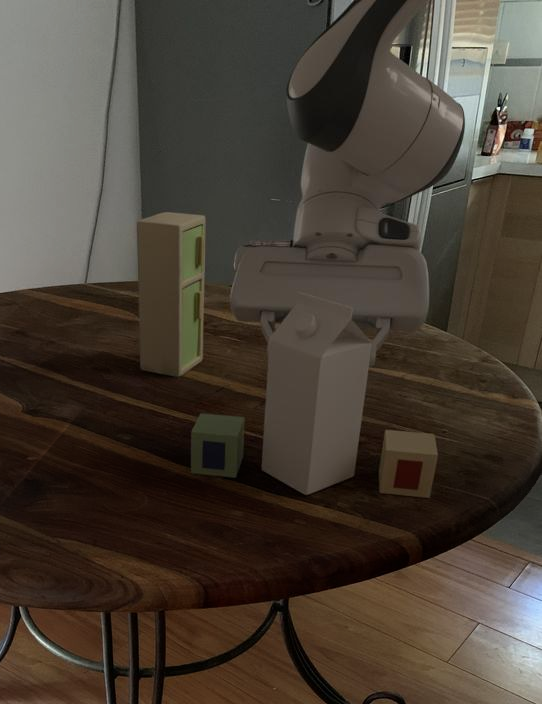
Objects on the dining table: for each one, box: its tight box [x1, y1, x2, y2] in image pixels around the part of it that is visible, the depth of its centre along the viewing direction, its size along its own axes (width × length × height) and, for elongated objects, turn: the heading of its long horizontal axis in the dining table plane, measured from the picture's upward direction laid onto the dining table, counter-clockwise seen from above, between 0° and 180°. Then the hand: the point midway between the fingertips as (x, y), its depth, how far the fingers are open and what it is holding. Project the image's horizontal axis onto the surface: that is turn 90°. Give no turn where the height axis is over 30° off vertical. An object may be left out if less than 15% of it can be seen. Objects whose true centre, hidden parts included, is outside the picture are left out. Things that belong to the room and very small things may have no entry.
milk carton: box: [261, 292, 372, 496], centre depth 75 cm, size 7×7×19 cm
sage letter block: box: [190, 413, 246, 479], centre depth 81 cm, size 5×5×5 cm
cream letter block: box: [378, 429, 439, 499], centre depth 76 cm, size 5×5×5 cm
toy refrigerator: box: [136, 211, 207, 378], centre depth 104 cm, size 8×7×21 cm
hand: (319, 360), depth 75 cm, fingers open, 8 cm apart
